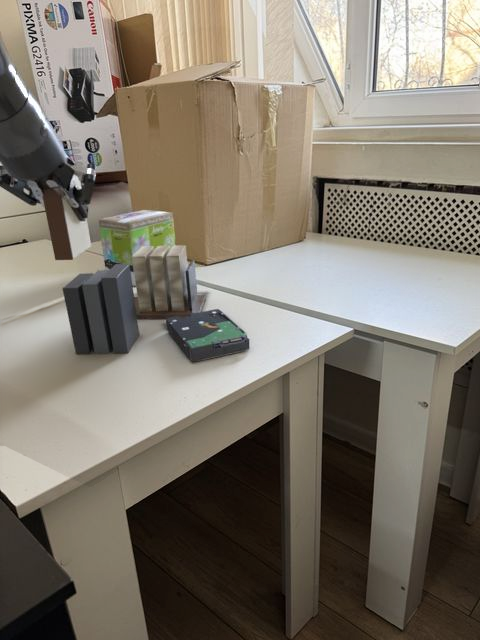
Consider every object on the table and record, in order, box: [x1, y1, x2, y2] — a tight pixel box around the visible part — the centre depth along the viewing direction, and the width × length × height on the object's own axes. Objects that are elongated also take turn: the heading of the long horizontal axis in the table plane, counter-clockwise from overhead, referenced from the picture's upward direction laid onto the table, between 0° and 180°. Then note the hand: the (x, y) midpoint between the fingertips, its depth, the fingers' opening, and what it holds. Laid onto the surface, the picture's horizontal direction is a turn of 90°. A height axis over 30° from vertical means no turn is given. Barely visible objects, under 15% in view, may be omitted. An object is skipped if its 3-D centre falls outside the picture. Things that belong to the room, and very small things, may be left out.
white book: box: [43, 175, 92, 261], centre depth 73 cm, size 8×2×11 cm, turn 179°
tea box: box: [98, 209, 176, 287], centre depth 121 cm, size 15×10×15 cm, turn 148°
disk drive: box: [165, 308, 250, 362], centre depth 87 cm, size 10×3×15 cm
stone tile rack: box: [132, 244, 207, 321], centre depth 100 cm, size 22×11×12 cm, turn 89°
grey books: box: [62, 264, 140, 355], centre depth 85 cm, size 8×9×13 cm
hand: (73, 216), depth 75 cm, fingers closed on white book, 2 cm apart
